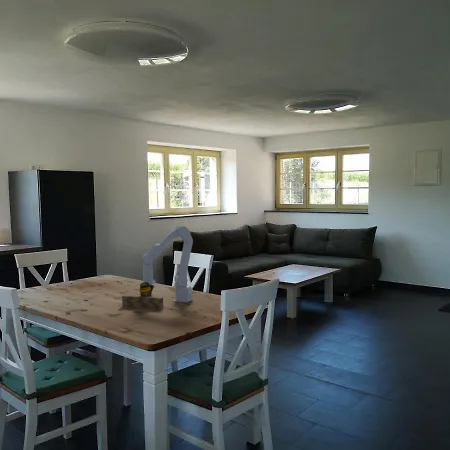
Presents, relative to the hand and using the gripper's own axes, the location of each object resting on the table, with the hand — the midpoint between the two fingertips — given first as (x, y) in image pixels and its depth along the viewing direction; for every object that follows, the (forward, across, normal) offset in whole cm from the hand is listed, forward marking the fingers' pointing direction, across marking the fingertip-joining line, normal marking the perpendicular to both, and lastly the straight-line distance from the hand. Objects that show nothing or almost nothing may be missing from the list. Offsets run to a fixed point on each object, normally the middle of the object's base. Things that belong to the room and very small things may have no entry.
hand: (148, 298), depth 254 cm
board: (+3, +9, +1) cm, 10 cm away
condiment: (+2, +3, 0) cm, 4 cm away
